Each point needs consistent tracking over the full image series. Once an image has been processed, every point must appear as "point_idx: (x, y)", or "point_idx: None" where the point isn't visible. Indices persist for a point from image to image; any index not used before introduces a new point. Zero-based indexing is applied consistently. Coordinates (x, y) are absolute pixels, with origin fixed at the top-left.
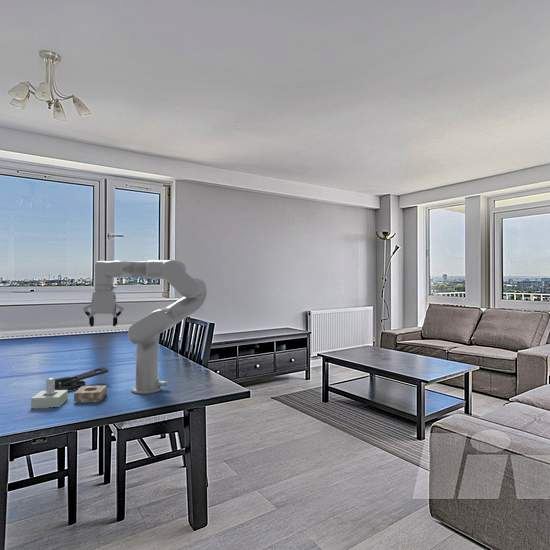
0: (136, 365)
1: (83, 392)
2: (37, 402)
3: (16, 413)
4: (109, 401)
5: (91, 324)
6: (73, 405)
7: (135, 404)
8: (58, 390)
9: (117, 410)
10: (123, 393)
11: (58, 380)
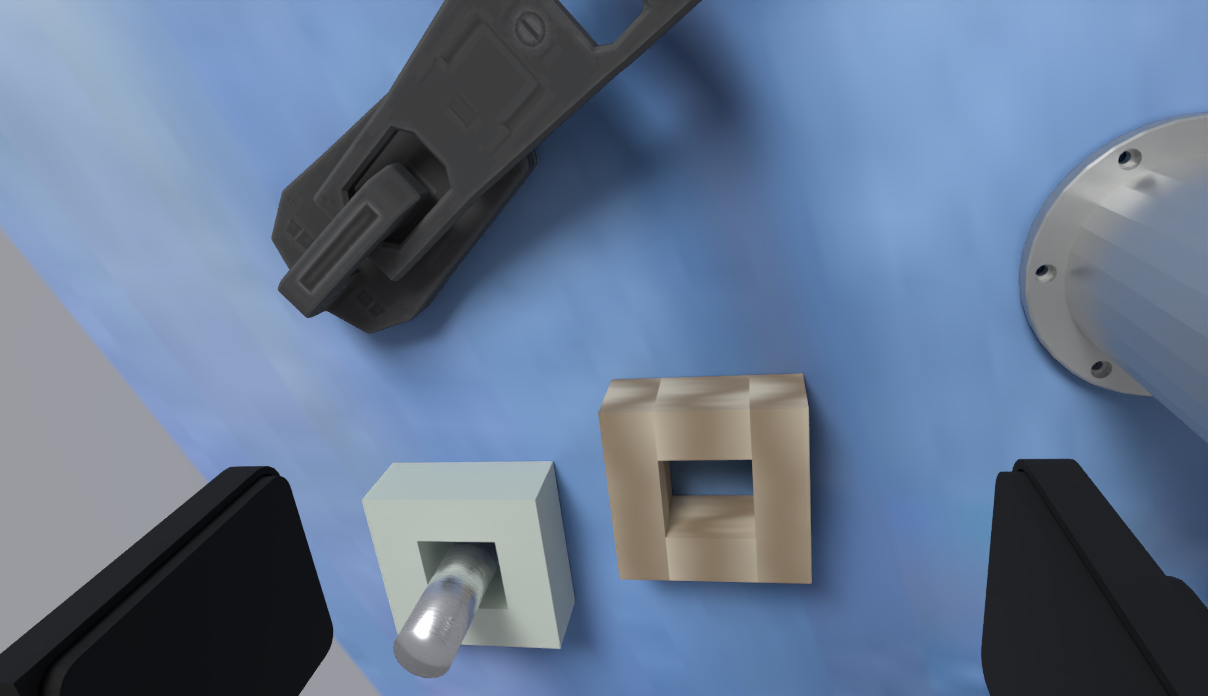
0: (1201, 427)
1: (681, 572)
2: None
3: None
4: (870, 527)
5: (293, 690)
6: None
7: None
8: (475, 507)
9: (967, 692)
10: (945, 346)
11: (335, 287)
